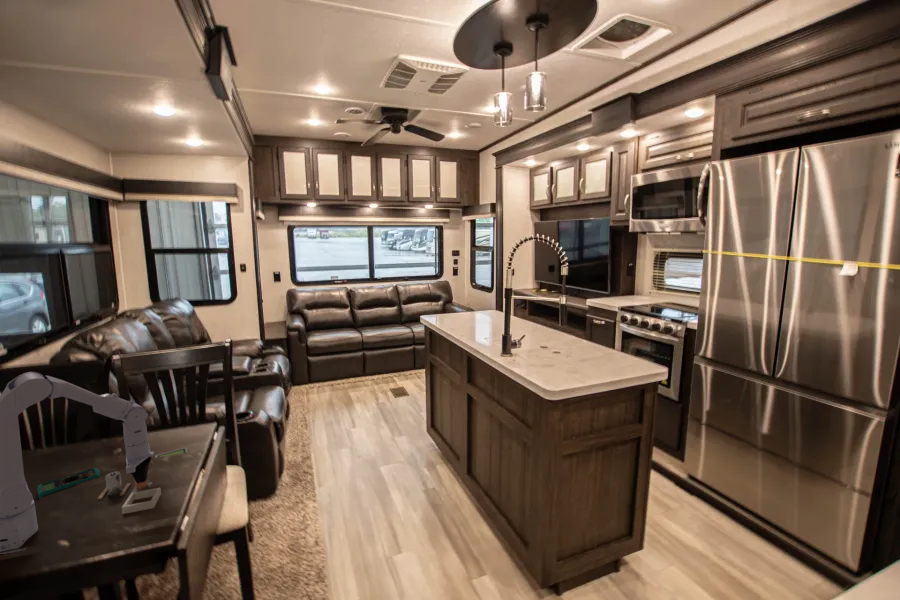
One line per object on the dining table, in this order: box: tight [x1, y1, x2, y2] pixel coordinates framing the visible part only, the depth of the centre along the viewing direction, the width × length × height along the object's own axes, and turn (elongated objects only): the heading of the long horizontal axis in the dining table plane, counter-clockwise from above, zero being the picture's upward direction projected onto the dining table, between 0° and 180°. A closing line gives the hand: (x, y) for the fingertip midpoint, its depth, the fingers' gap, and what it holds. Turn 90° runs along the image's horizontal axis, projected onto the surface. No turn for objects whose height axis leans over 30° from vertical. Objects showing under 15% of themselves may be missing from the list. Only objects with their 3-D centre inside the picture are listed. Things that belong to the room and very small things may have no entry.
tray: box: [121, 487, 162, 515], centre depth 119 cm, size 7×7×4 cm
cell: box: [104, 471, 123, 496], centre depth 125 cm, size 4×4×6 cm
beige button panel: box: [97, 481, 153, 501], centre depth 126 cm, size 11×14×2 cm
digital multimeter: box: [36, 467, 101, 500], centre depth 131 cm, size 7×15×3 cm, turn 138°
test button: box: [135, 478, 149, 490], centre depth 127 cm, size 3×3×2 cm
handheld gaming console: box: [154, 447, 189, 459], centre depth 146 cm, size 10×2×15 cm
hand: (141, 482), depth 127 cm, fingers closed, pressing on test button
